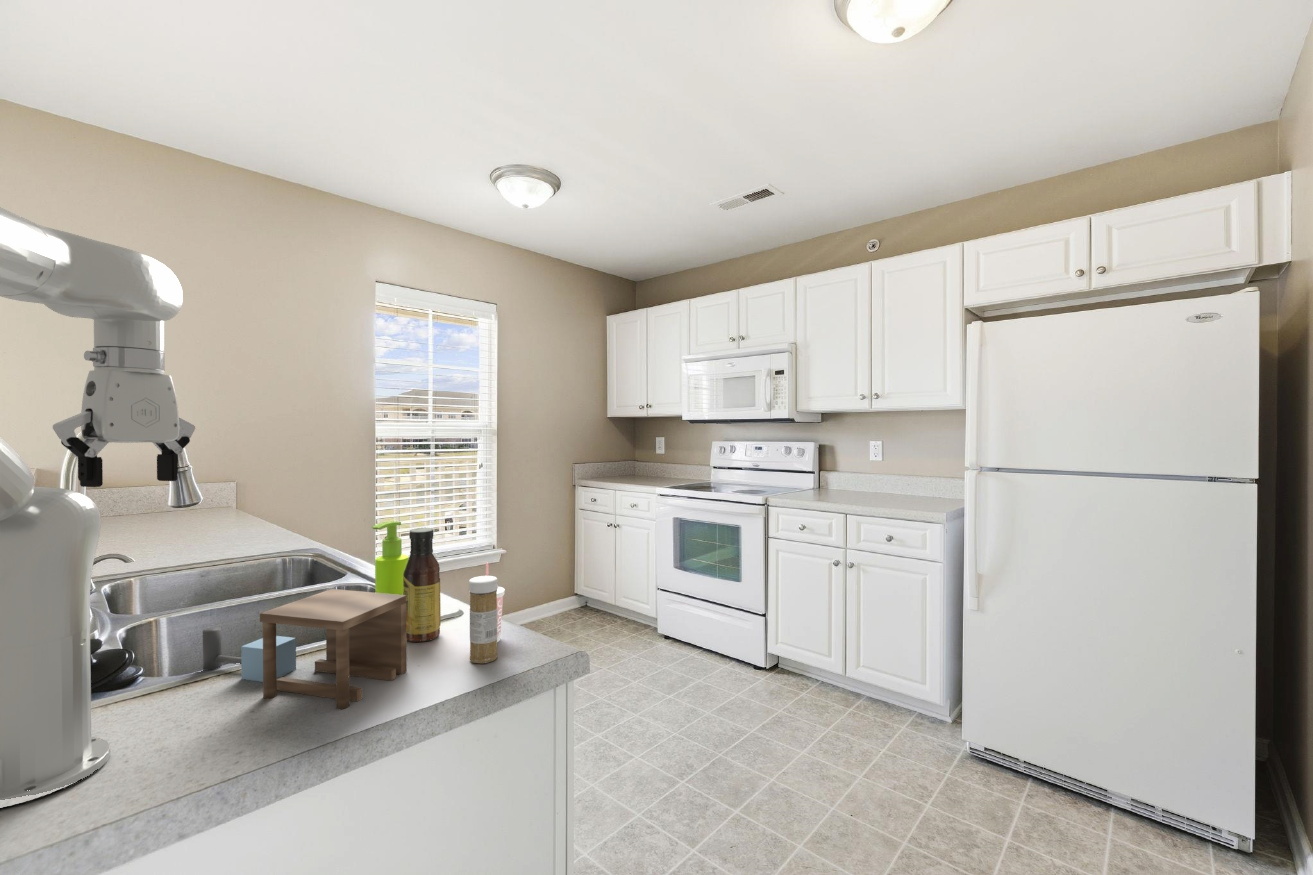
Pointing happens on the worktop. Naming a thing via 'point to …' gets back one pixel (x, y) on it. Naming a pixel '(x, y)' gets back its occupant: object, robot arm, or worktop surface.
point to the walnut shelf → (341, 641)
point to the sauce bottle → (422, 588)
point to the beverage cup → (499, 605)
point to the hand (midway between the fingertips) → (131, 483)
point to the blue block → (248, 655)
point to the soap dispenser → (390, 562)
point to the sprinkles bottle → (483, 619)
